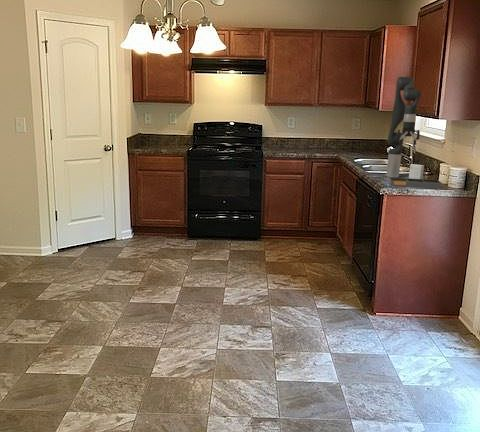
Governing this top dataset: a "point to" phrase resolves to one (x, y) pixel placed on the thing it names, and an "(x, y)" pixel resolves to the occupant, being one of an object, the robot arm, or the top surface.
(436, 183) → the rack
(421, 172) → the small box
